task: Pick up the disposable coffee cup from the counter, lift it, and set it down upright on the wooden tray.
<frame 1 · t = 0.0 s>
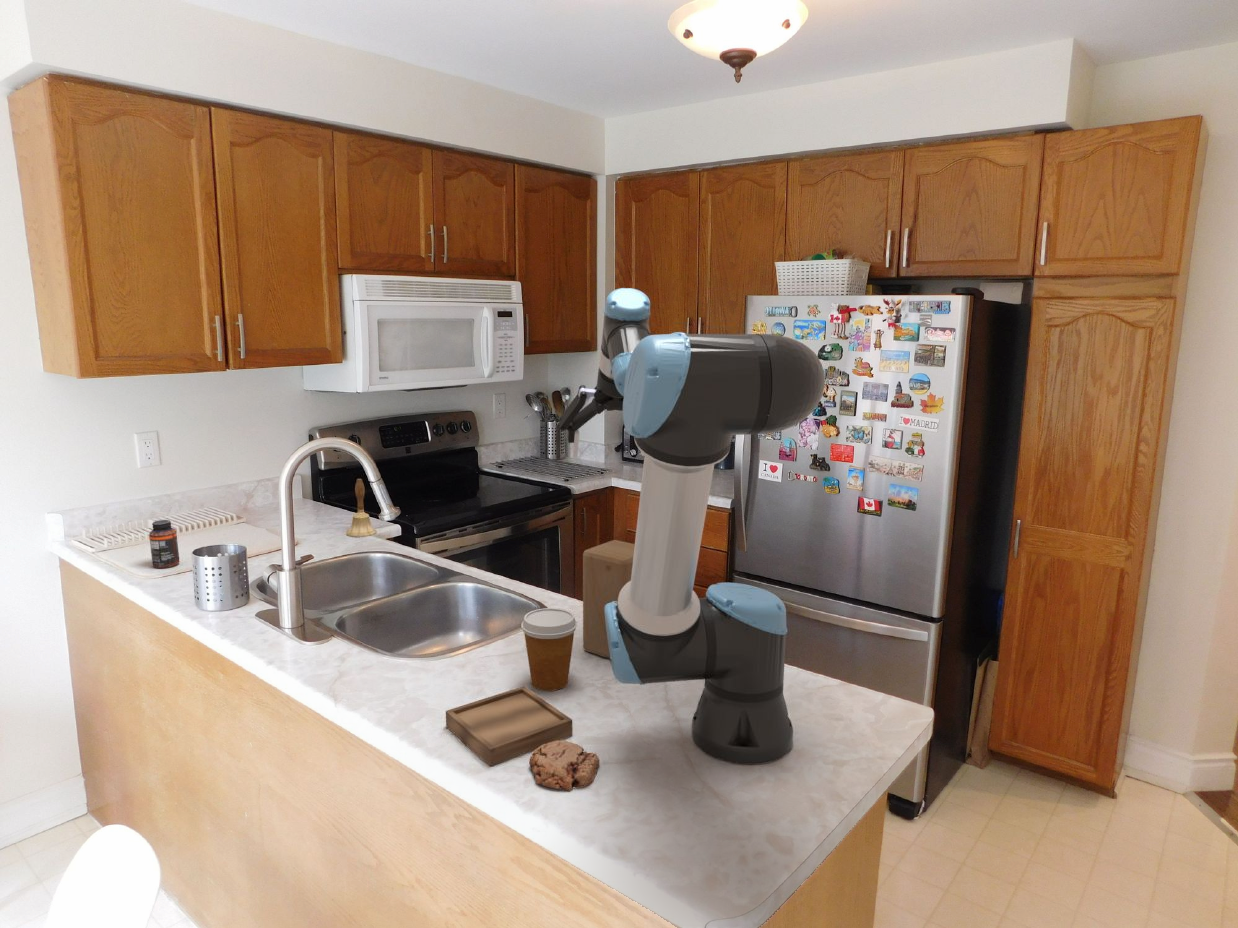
hand: (608, 451, 160), 36 cm above the counter, tool tilted 35°, fingers open, 13 cm apart
disposable coffee cup: (549, 683, 140), on the counter
wooden block: (617, 650, 154), on the counter
cookie: (562, 773, 114), on the counter
hand bell: (361, 533, 233), on the counter
wooden tray: (508, 730, 124), on the counter
supplement bottle: (166, 566, 203), on the counter
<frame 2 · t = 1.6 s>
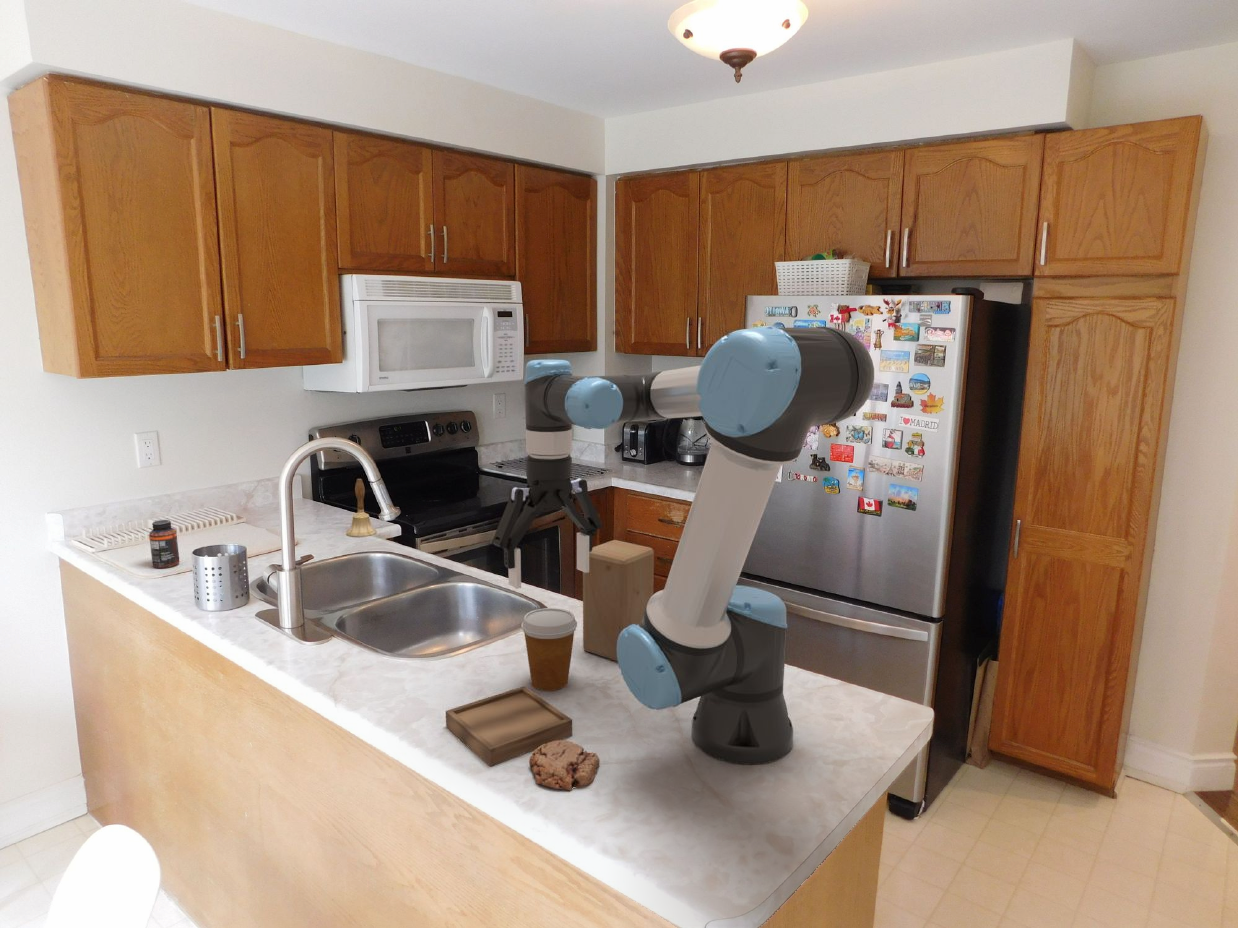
hand: (549, 578, 137), 19 cm above the counter, tool pointing down, fingers open, 13 cm apart
nothing on the counter moved.
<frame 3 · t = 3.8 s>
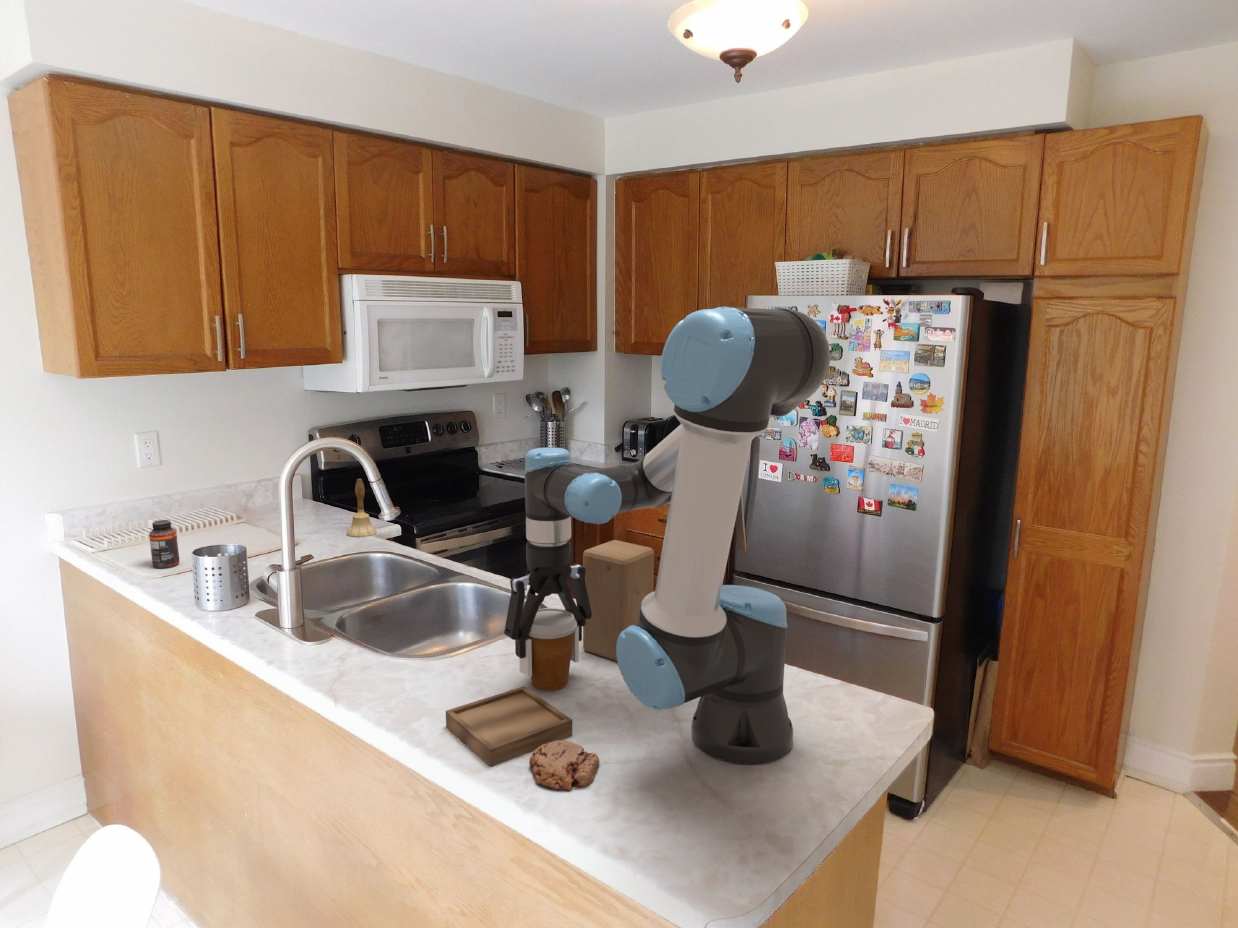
hand: (549, 666, 140), 3 cm above the counter, tool pointing down, fingers closed on disposable coffee cup, 9 cm apart
disposable coffee cup: (549, 683, 140), on the counter, touching gripper
everything else where it was.
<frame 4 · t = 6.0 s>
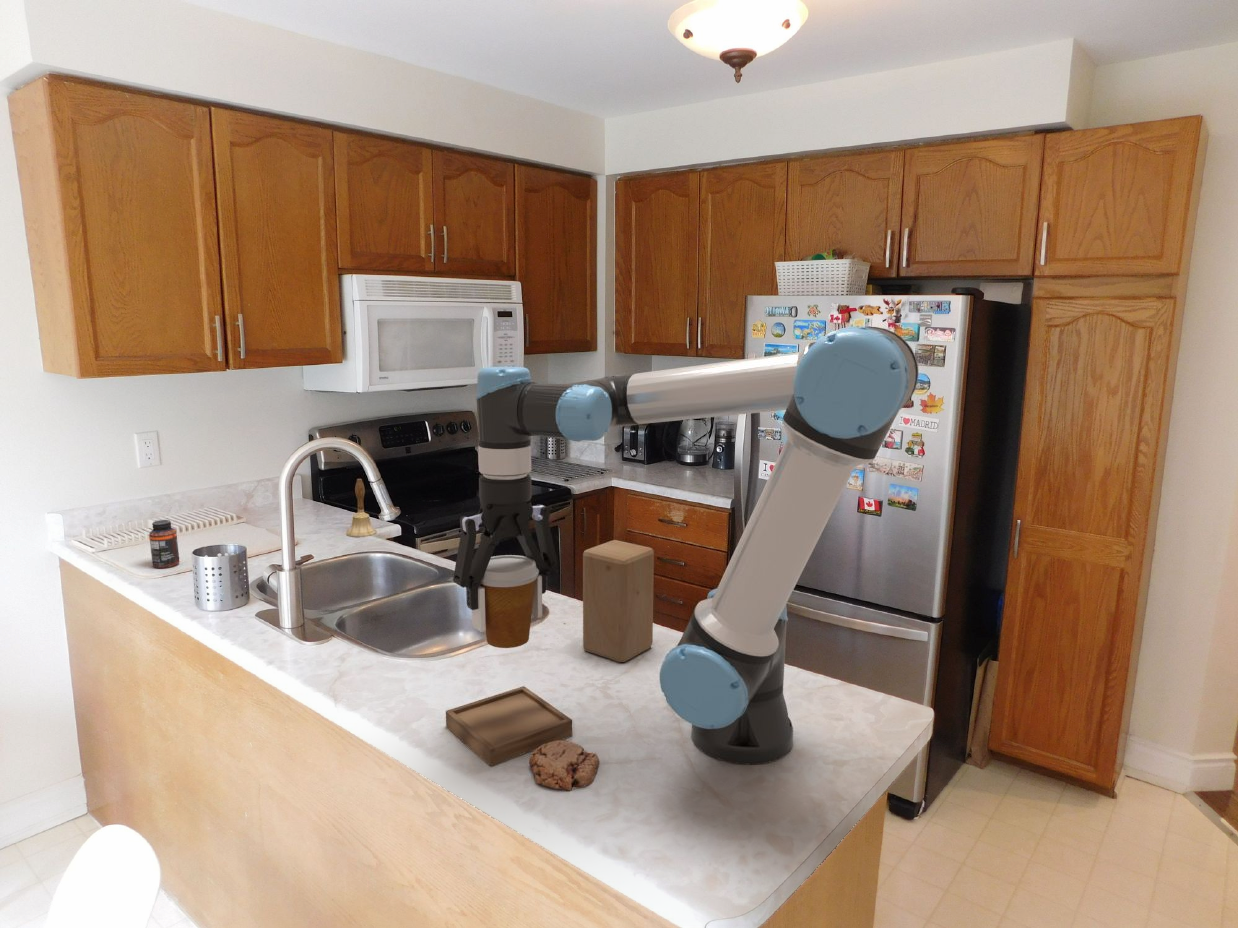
hand: (507, 621, 122), 17 cm above the counter, tool pointing down, fingers closed on disposable coffee cup, 9 cm apart
disposable coffee cup: (508, 641, 122), point 14 cm above the counter, touching gripper
everything else where it was.
when the fingers open (5 cm above the counter, at t = 8.3 s): disposable coffee cup stays where it is, resting on wooden tray.
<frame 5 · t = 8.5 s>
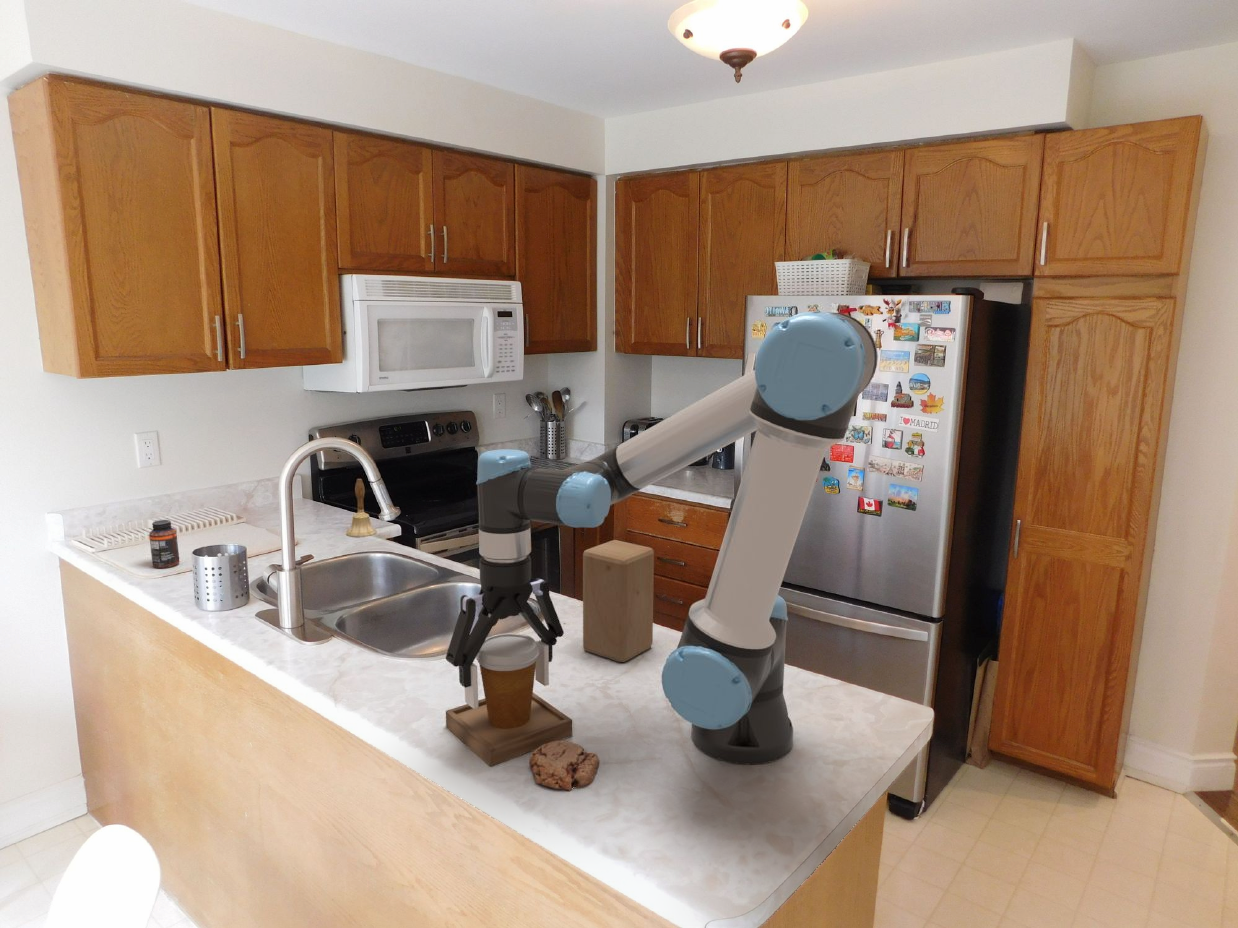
hand: (507, 693, 123), 6 cm above the counter, tool pointing down, fingers open, 11 cm apart
disposable coffee cup: (509, 719, 124), point 2 cm above the counter, touching wooden tray
everything else where it was.
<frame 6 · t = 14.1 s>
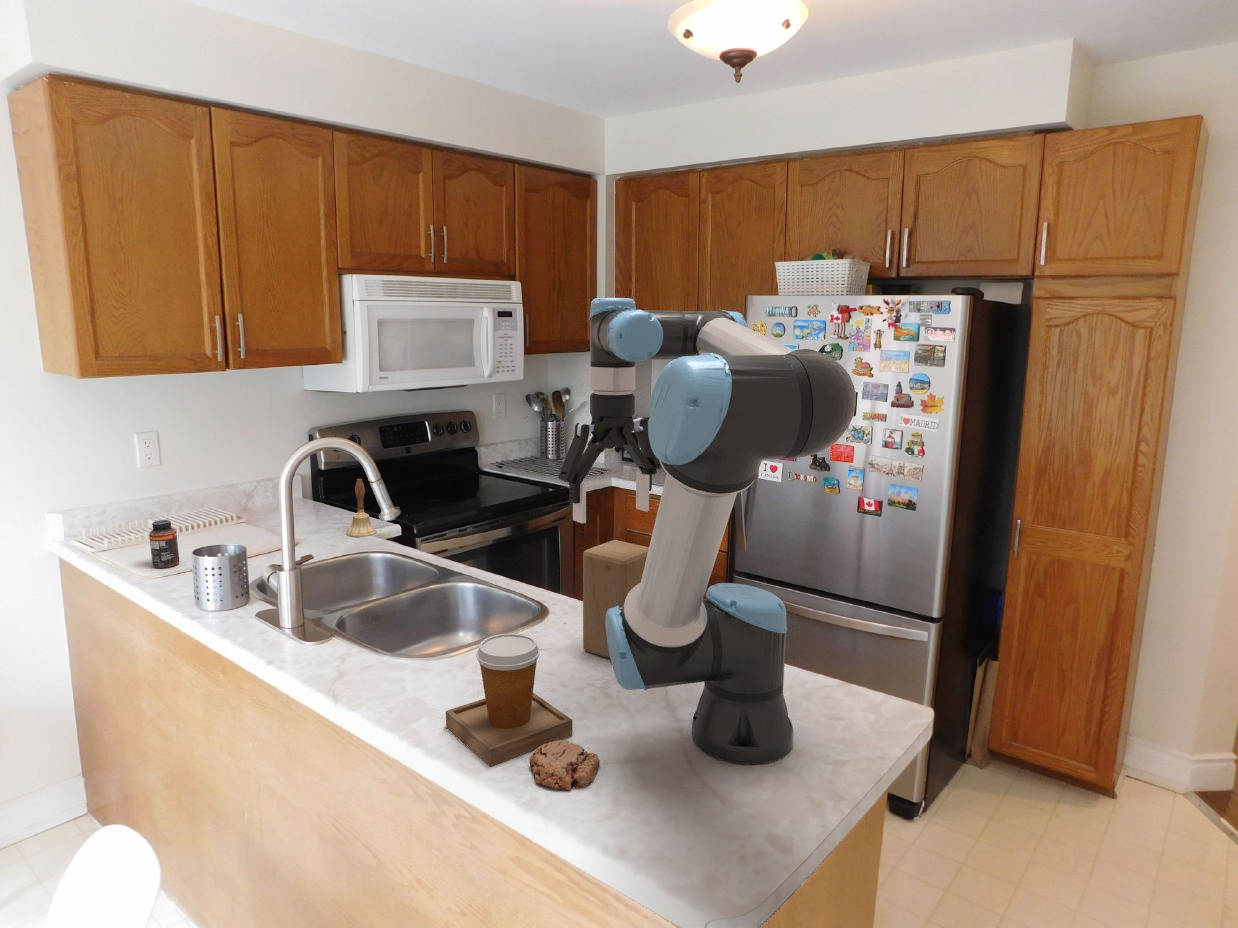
hand: (611, 515, 139), 29 cm above the counter, tool pointing down, fingers open, 13 cm apart
nothing on the counter moved.
at the end: disposable coffee cup inside the target area on the wooden tray (0.2 cm from its centre), point 1.8 cm above the wooden tray's base; disposable coffee cup tilted 0°; the gripper is holding nothing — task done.
